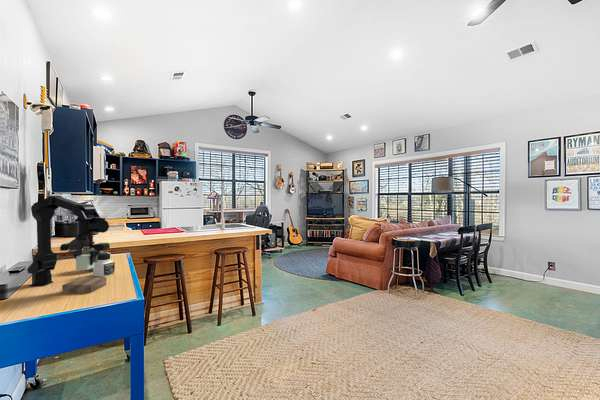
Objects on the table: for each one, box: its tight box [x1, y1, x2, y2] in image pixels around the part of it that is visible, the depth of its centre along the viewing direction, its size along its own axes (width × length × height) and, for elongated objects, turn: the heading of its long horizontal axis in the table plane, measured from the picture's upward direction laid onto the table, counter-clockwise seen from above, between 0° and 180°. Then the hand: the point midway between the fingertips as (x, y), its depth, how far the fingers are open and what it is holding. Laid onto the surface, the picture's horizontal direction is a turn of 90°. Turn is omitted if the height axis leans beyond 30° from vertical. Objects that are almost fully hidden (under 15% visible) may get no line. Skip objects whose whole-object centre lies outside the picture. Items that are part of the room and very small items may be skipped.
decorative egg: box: [82, 244, 105, 272], centre depth 169 cm, size 12×12×15 cm
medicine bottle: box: [92, 252, 116, 278], centre depth 160 cm, size 7×7×12 cm
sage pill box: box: [75, 255, 94, 271], centre depth 136 cm, size 5×5×6 cm
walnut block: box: [61, 276, 107, 294], centre depth 136 cm, size 12×12×4 cm
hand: (85, 265), depth 136 cm, fingers closed on sage pill box, 5 cm apart
